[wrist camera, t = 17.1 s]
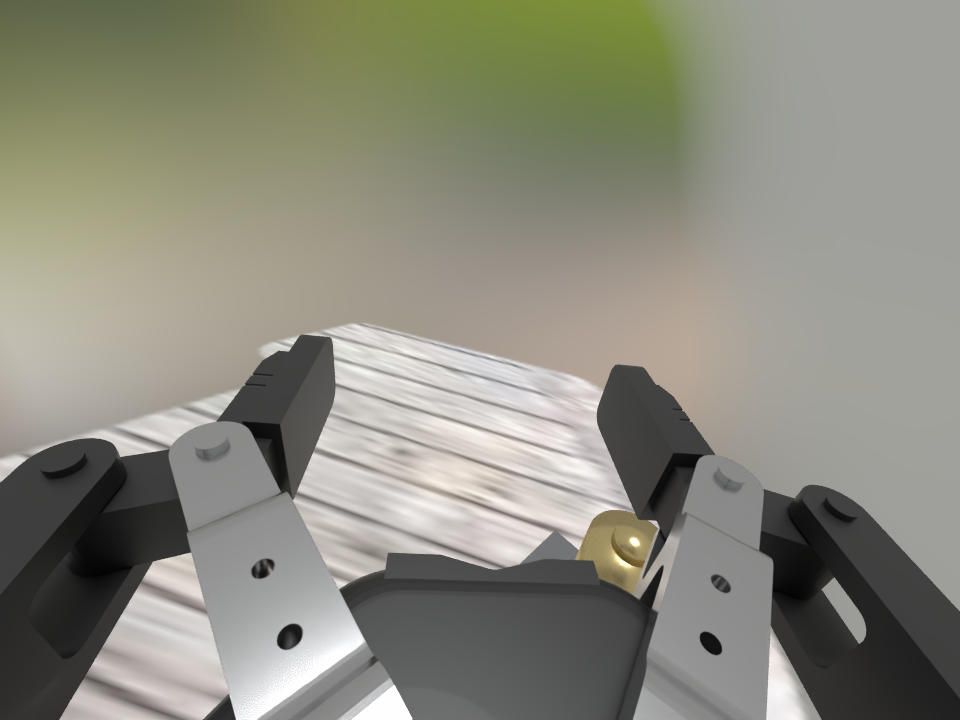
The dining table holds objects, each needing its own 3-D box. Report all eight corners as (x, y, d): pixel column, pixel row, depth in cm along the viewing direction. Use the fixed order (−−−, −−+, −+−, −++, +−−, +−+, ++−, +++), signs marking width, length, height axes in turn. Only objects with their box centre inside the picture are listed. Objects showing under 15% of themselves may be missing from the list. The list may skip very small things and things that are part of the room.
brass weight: (592, 702, 26) (661, 602, 20) (532, 637, 29) (575, 530, 22) (629, 644, 29) (698, 541, 23) (572, 590, 32) (619, 486, 26)
